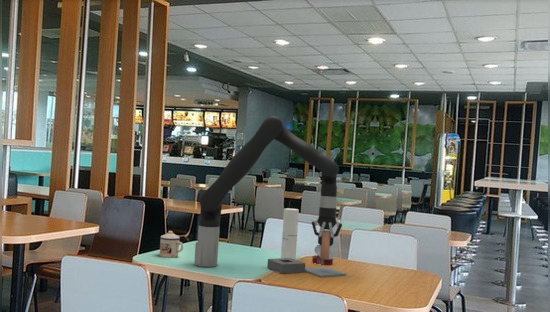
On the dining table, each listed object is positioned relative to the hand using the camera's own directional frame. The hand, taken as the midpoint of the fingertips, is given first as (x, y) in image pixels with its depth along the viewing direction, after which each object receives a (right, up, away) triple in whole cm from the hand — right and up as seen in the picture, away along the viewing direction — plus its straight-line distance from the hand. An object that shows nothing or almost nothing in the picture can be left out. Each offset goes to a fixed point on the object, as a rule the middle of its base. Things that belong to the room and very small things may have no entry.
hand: (325, 245), depth 223 cm
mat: (-1, -12, 0) cm, 12 cm away
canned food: (+1, -13, +22) cm, 26 cm away
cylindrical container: (-16, -12, +22) cm, 30 cm away
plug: (0, -6, 0) cm, 6 cm away
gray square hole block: (-17, -11, 0) cm, 21 cm away
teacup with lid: (-71, -8, +14) cm, 73 cm away
